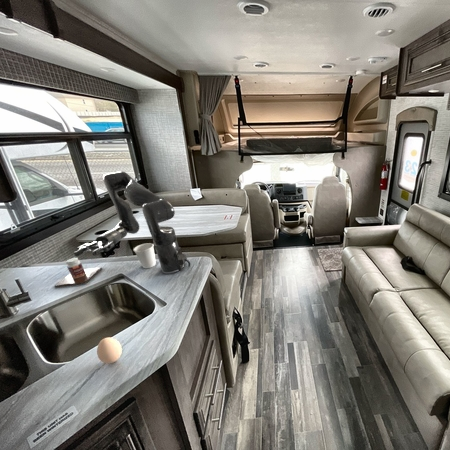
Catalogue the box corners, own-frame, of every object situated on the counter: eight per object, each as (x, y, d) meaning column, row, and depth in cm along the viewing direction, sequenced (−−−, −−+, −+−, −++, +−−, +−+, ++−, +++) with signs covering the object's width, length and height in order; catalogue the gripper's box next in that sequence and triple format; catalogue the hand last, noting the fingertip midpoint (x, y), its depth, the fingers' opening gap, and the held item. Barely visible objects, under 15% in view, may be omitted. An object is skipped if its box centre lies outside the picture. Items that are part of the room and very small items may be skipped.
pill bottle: (77, 279, 107) (70, 263, 104) (69, 278, 108) (61, 262, 105) (88, 273, 112) (81, 257, 108) (80, 272, 113) (73, 256, 109)
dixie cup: (161, 259, 123) (156, 242, 119) (154, 268, 115) (149, 250, 111) (144, 261, 122) (138, 244, 118) (136, 270, 114) (129, 252, 110)
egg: (114, 351, 73) (105, 330, 69) (129, 353, 72) (120, 333, 68) (98, 367, 68) (87, 346, 65) (113, 370, 67) (103, 348, 64)
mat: (102, 269, 117) (101, 267, 116) (85, 283, 106) (84, 282, 105) (74, 272, 115) (73, 270, 115) (55, 287, 104) (54, 285, 104)
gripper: (93, 233, 127) (66, 247, 112) (120, 232, 127) (96, 246, 112) (98, 245, 130) (72, 261, 115) (124, 244, 130) (102, 260, 115)
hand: (84, 254), depth 113 cm, fingers open, 8 cm apart
